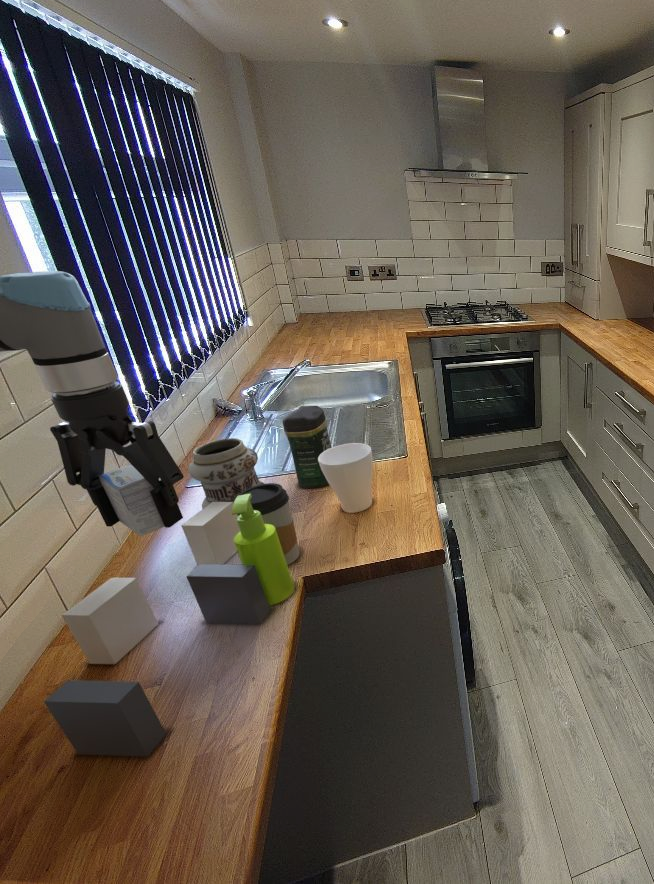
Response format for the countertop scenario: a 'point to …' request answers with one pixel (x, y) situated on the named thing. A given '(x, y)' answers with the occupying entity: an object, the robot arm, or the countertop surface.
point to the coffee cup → (276, 515)
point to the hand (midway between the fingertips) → (145, 522)
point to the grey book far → (229, 593)
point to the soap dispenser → (262, 550)
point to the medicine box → (132, 499)
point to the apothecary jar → (224, 469)
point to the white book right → (212, 533)
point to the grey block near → (106, 717)
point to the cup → (349, 474)
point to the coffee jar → (307, 443)
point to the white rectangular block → (111, 620)
